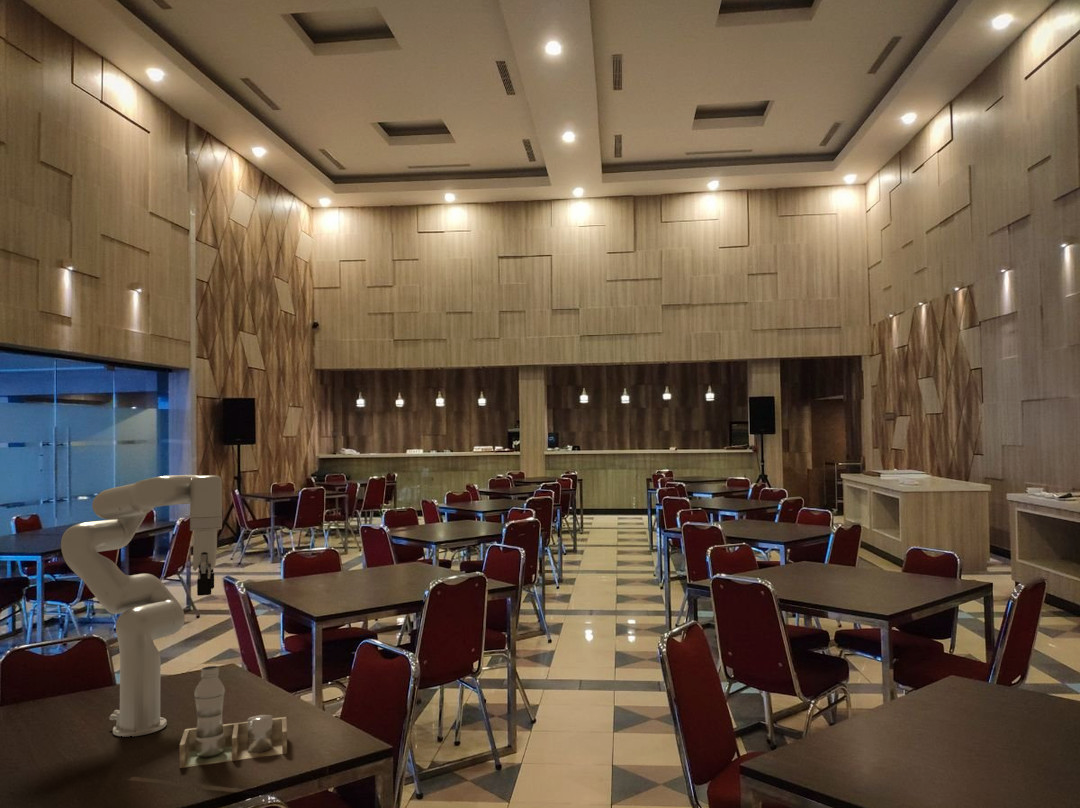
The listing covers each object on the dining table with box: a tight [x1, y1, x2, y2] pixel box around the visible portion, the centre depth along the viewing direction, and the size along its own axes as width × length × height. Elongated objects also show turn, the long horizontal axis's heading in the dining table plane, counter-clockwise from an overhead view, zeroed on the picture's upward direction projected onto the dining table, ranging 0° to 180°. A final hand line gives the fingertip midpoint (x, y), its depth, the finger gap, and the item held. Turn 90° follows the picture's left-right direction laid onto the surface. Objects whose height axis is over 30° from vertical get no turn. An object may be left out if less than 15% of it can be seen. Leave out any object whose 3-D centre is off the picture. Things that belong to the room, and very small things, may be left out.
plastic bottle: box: [193, 665, 226, 757], centre depth 185 cm, size 6×7×20 cm
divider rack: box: [179, 716, 288, 769], centre depth 187 cm, size 23×11×6 cm, turn 109°
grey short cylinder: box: [247, 714, 273, 752], centre depth 188 cm, size 6×6×7 cm
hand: (205, 591), depth 201 cm, fingers open, 9 cm apart
